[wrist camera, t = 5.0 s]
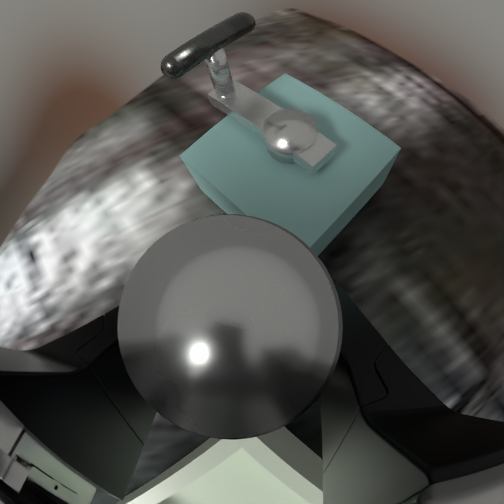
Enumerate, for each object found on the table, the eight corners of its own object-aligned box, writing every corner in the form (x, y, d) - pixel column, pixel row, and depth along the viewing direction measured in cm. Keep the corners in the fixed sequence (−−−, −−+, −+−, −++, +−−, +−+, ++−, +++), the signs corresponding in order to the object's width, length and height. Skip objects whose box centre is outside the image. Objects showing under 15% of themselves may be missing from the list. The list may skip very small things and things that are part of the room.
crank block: (382, 184, 17) (401, 147, 13) (296, 278, 16) (296, 261, 12) (288, 114, 19) (285, 73, 15) (201, 190, 18) (179, 155, 15)
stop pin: (325, 330, 15) (394, 322, 5) (268, 386, 15) (218, 482, 4) (269, 276, 16) (224, 170, 6) (214, 331, 16) (80, 316, 5)
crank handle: (356, 136, 13) (373, 60, 9) (284, 204, 13) (277, 135, 8) (254, 73, 15) (241, 6, 11) (185, 125, 15) (151, 60, 10)
